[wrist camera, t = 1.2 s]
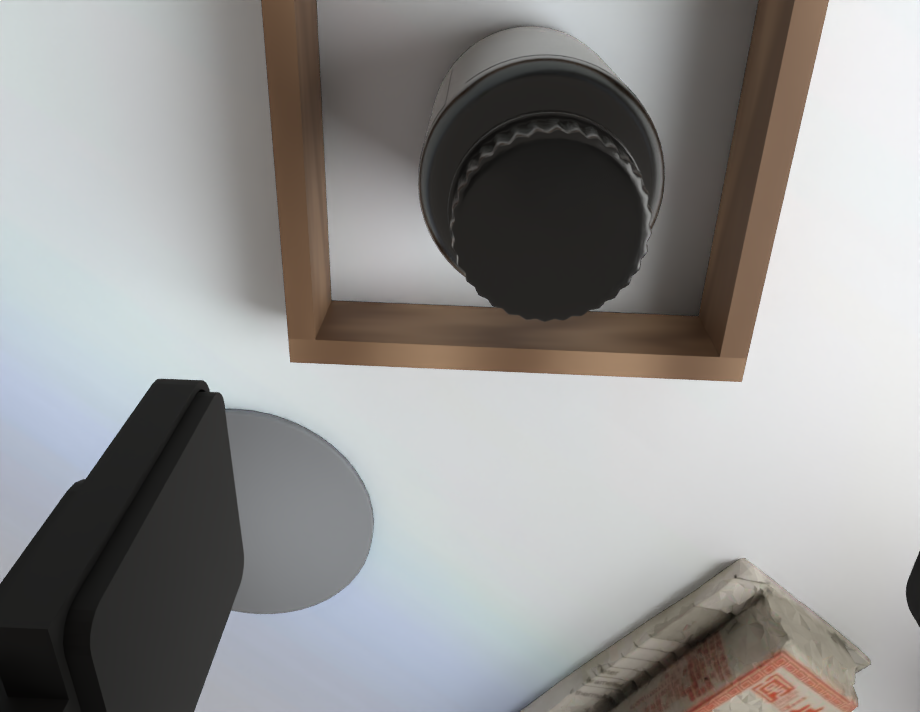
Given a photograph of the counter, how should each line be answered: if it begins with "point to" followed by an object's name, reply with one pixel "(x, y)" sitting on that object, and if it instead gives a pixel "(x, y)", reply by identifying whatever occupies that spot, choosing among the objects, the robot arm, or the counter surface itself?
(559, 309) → the supplement bottle
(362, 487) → the mat
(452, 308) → the bin
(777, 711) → the packaged product
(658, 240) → the counter surface
